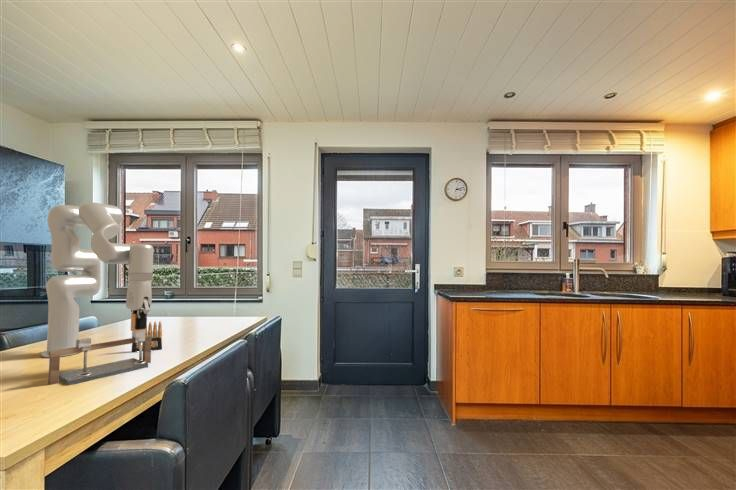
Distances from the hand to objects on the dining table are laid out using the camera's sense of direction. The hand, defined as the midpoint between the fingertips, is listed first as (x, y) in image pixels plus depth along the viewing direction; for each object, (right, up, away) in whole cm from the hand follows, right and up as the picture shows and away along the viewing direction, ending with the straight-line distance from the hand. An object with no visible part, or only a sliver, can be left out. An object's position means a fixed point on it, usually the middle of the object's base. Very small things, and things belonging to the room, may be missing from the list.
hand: (138, 327), depth 125 cm
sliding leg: (+1, -11, -1) cm, 11 cm away
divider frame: (-6, -13, -9) cm, 17 cm away
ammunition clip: (-9, -14, +19) cm, 26 cm away
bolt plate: (-6, -13, -9) cm, 17 cm away
